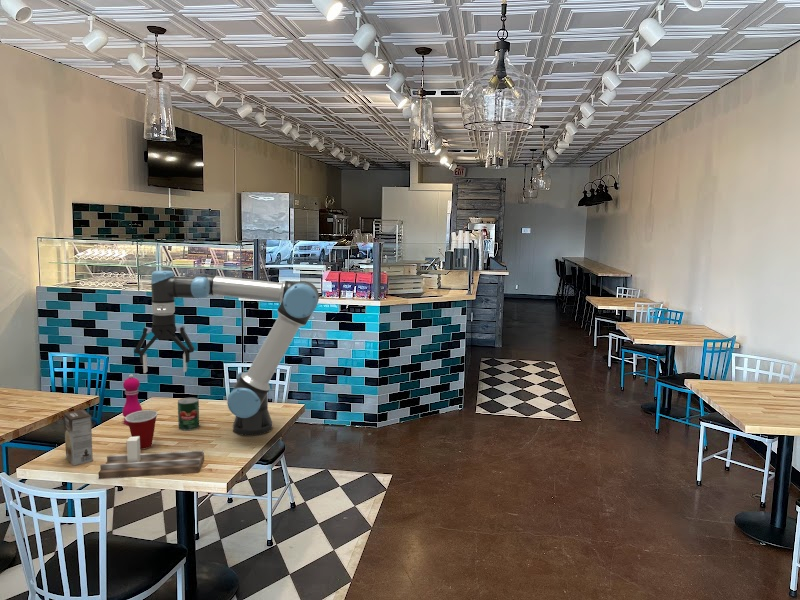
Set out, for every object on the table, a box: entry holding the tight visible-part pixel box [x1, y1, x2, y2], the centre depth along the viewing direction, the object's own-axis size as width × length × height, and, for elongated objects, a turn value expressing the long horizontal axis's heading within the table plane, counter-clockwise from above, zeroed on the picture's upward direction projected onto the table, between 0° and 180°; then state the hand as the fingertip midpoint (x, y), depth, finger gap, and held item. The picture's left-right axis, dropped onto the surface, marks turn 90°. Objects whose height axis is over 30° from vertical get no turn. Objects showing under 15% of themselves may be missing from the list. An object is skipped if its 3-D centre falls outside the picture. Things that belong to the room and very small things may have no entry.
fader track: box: [98, 450, 205, 480], centre depth 188 cm, size 30×12×4 cm, turn 101°
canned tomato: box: [177, 397, 200, 432], centre depth 227 cm, size 8×8×11 cm
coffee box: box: [63, 408, 94, 466], centre depth 193 cm, size 9×6×16 cm
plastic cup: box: [124, 409, 158, 450], centre depth 206 cm, size 11×11×12 cm
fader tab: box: [126, 436, 141, 463], centre depth 187 cm, size 3×4×8 cm
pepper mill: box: [122, 373, 143, 426], centre depth 231 cm, size 7×7×20 cm
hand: (165, 371), depth 208 cm, fingers open, 13 cm apart
